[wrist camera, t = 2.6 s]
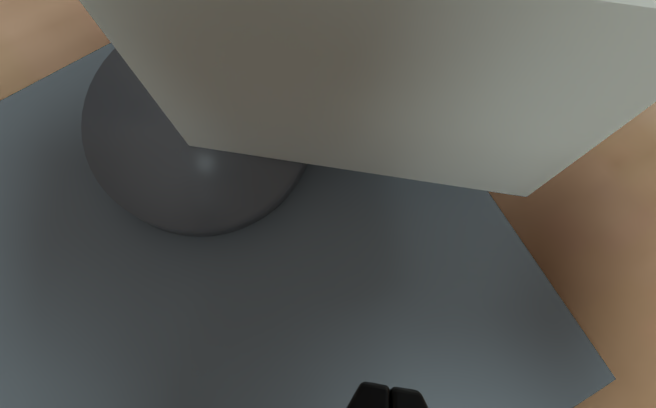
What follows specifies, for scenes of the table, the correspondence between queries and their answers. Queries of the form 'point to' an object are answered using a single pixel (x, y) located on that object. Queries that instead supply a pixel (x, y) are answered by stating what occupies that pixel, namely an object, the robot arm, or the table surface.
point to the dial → (352, 96)
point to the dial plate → (265, 290)
